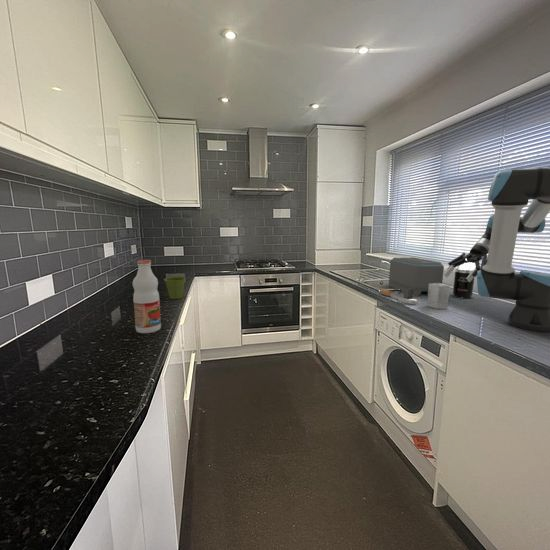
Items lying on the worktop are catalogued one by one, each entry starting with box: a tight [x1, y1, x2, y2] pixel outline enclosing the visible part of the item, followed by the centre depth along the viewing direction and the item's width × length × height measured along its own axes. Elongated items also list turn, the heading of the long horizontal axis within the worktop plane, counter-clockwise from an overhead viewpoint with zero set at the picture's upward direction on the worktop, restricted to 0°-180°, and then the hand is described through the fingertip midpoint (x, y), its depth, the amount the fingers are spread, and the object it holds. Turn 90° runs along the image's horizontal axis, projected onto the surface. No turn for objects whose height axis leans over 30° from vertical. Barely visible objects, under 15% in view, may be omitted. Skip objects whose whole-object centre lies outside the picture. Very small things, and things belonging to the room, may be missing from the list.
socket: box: [426, 283, 451, 310], centre depth 153 cm, size 7×7×12 cm
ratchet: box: [380, 289, 419, 306], centre depth 169 cm, size 27×10×8 cm, turn 15°
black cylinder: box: [452, 258, 476, 299], centre depth 175 cm, size 10×10×25 cm
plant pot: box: [163, 276, 187, 300], centre depth 167 cm, size 12×12×11 cm
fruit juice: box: [132, 259, 162, 334], centre depth 115 cm, size 9×9×28 cm
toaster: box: [388, 256, 445, 297], centre depth 192 cm, size 19×33×20 cm, turn 10°
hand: (456, 277), depth 155 cm, fingers open, 13 cm apart
